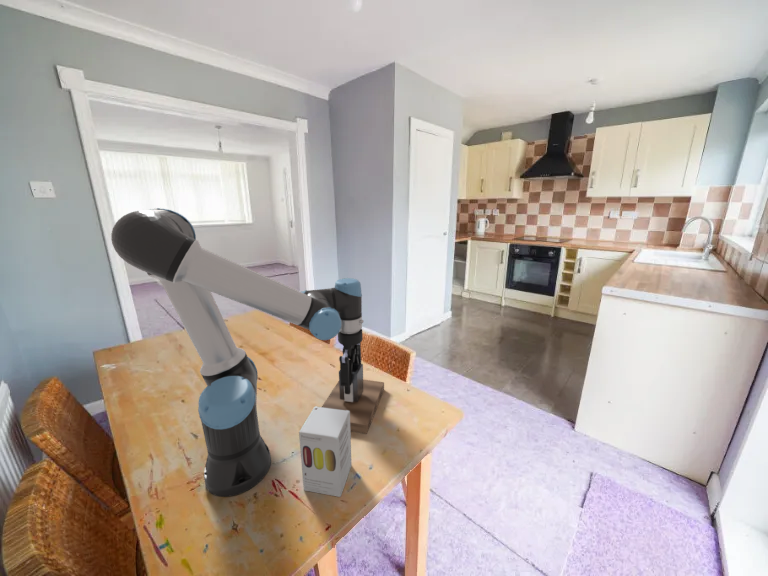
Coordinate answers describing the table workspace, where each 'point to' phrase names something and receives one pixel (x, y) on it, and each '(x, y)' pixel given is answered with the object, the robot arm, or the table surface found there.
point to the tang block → (358, 405)
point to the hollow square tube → (354, 382)
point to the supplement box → (326, 450)
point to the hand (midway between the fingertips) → (352, 394)
